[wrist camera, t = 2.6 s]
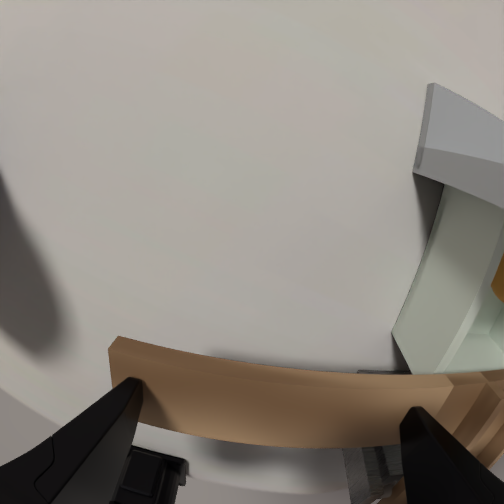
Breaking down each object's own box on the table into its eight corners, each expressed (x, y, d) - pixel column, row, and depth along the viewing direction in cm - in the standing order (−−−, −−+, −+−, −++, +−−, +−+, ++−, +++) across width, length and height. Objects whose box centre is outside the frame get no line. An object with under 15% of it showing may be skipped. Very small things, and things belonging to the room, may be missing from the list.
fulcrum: (422, 434, 19) (444, 498, 12) (317, 440, 19) (324, 522, 12) (473, 369, 16) (514, 439, 9) (358, 370, 16) (387, 474, 9)
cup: (485, 337, 15) (517, 379, 10) (391, 332, 14) (420, 392, 10) (533, 222, 11) (582, 251, 7) (444, 183, 11) (506, 209, 7)
